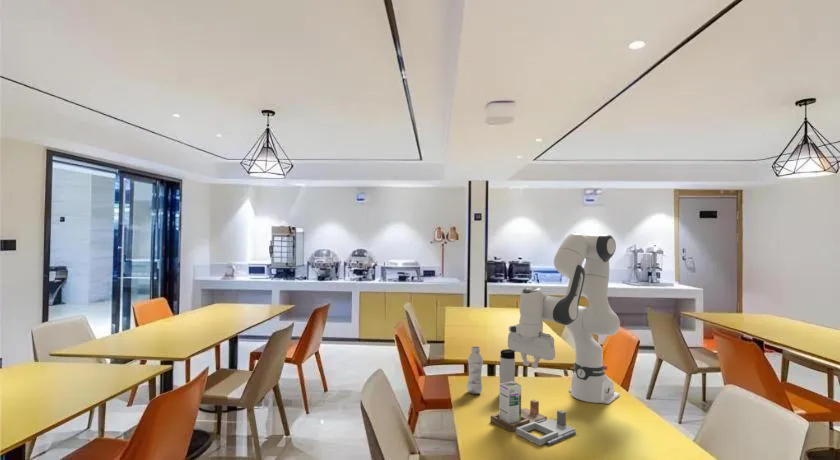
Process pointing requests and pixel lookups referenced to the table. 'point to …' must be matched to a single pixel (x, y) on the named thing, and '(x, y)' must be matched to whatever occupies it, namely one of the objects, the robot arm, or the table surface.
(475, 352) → the plastic bottle
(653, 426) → the table surface
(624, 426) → the table surface
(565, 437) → the lane rails
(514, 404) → the syrup box
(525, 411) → the brown flat tabbed frame
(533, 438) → the grey sliding lid frame
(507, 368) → the travel mug
